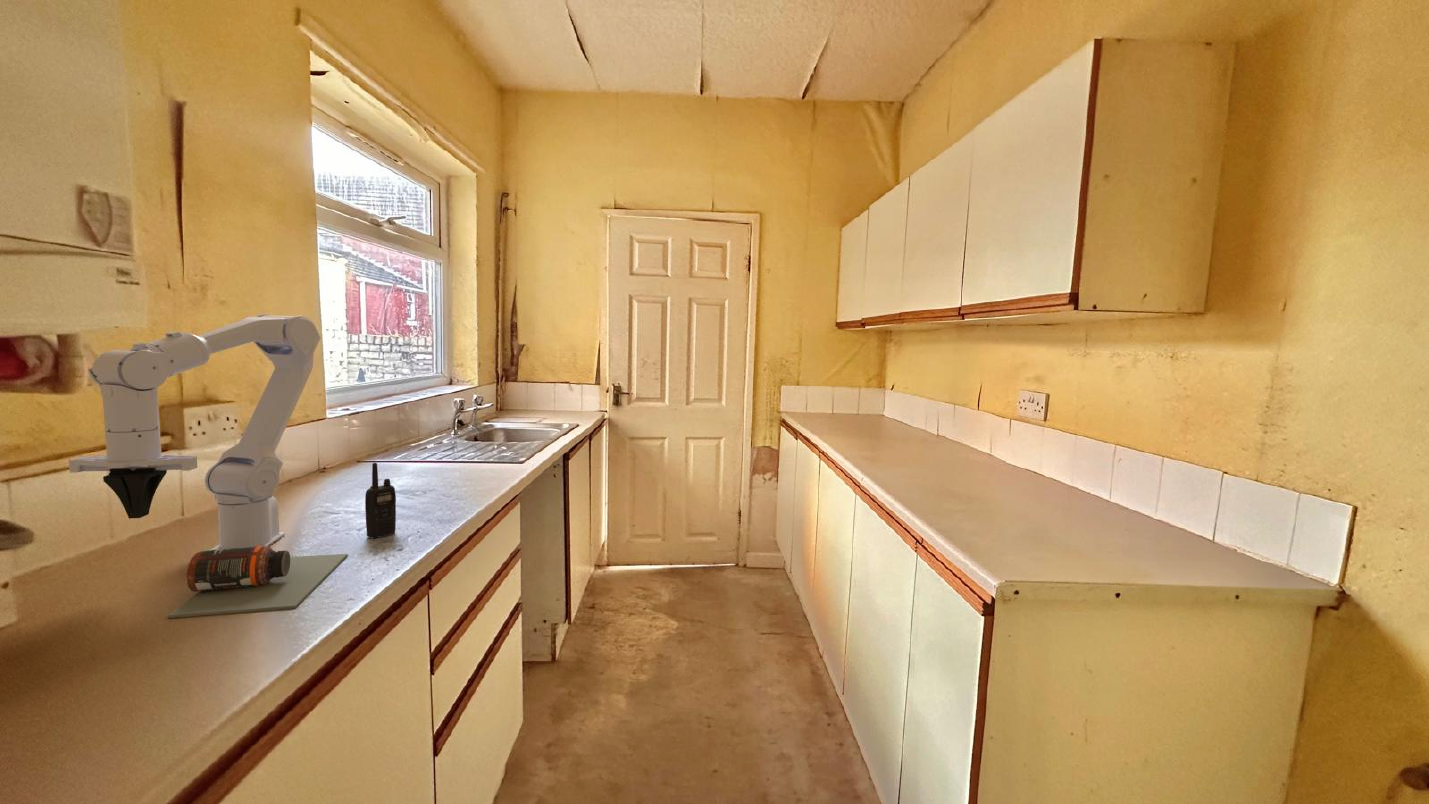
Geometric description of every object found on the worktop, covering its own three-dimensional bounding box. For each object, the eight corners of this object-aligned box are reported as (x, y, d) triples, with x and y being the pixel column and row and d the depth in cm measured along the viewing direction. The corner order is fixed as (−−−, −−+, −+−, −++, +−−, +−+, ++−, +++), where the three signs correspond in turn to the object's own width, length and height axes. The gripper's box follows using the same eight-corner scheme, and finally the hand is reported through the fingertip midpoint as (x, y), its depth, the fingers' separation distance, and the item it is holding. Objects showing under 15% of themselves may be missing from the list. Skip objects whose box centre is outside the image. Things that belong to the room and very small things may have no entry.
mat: (248, 561, 94) (248, 559, 94) (347, 555, 98) (347, 553, 98) (167, 618, 75) (167, 615, 75) (295, 608, 79) (295, 605, 79)
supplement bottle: (186, 600, 79) (281, 590, 84) (182, 562, 78) (278, 554, 83) (205, 580, 85) (294, 571, 89) (202, 544, 84) (291, 537, 88)
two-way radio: (370, 540, 105) (369, 465, 104) (359, 536, 108) (357, 461, 106) (399, 533, 110) (398, 460, 109) (388, 528, 112) (386, 457, 111)
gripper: (47, 433, 77) (55, 527, 78) (173, 433, 81) (179, 522, 82) (89, 426, 84) (95, 512, 85) (203, 426, 88) (208, 508, 89)
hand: (138, 516), depth 84 cm, fingers closed
